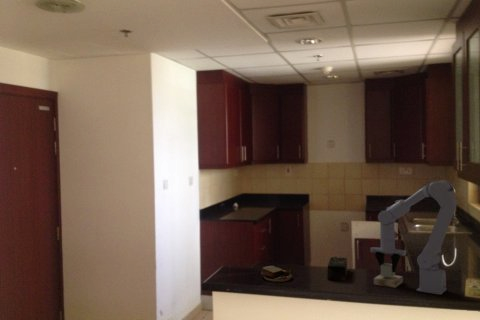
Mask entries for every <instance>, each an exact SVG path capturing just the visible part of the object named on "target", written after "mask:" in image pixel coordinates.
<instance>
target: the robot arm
mask: <svg viewBox="0 0 480 320" xmlns="http://www.w3.org/2000/svg"><path fill="white" fill-rule="evenodd" d="M425 198H432V199H434V200H435V201H436V202H437V204H438V205H439V206H440V208H439V211H438V214H437V216H436V219H435V221H434V224H433V228H432V230H431V233H430V235H429V238H428V240H427V243H426V245H425V246H424V247H423V249H422V252H421V253H420V254H419V255H418V256H417V258H416V262H417V265H418V266H419V287H418V288H416V291H417V292H420V293H421V292H422V293H428V294H433V295H434V294H435V295H443V293H445V292H446V291H447V274H446V270H445V269H441V268H440V267H439V264H440V262H441V259H442V257H441V253H442V245H443V243H444V240H445V238H446V235H447V232H448V229H449V226H450V225H451V221H452V219H453V217H454V214H455V211H456V208H457V201H456V197H455V188H454V186H453V185H452V183H451V182H449V181H448V180H447V179H440V180H438V181H432V182H431V183H429V184H427V185H425V186H422V187H421V188H420V189H419V190H417V191H416V192H414V193H413V194H412V195H410V196H408V197H407V198H406V199H397V200H395V201H394V204H392V205H390V206H387V207H386V208H385V209H386V210H381V211H380V212H379V213H378V215H377V219H378V220H377V221H378V223H379V224H380V226H379V227H380V228H379V229H380V232H379V233H380V234H379V235H380V246H379V247H377V246H376V247H374V246H372V247H370V248H369V249H370V253H375V254H374V256H375V258H376V260H377V262H378V265H379V268H380V270H381V265H382V264H384V263H385V255H390V258H391V264H392V272H395V273H396V271H397V266H398V263H399V260H400V258H401V257H406V255H407V250H404V249H398V248H396V241H395V238H396V237H395V236H396V235H395V232H396V229H395V223H396V222H397V220H398V219H400V218H401V217H403V216H404V215H406V214H408V213H409V212H410V210H411V207H412V206H413V205H416V204H417V203H418V202H420V201H422V200H423V199H425Z"/></svg>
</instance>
